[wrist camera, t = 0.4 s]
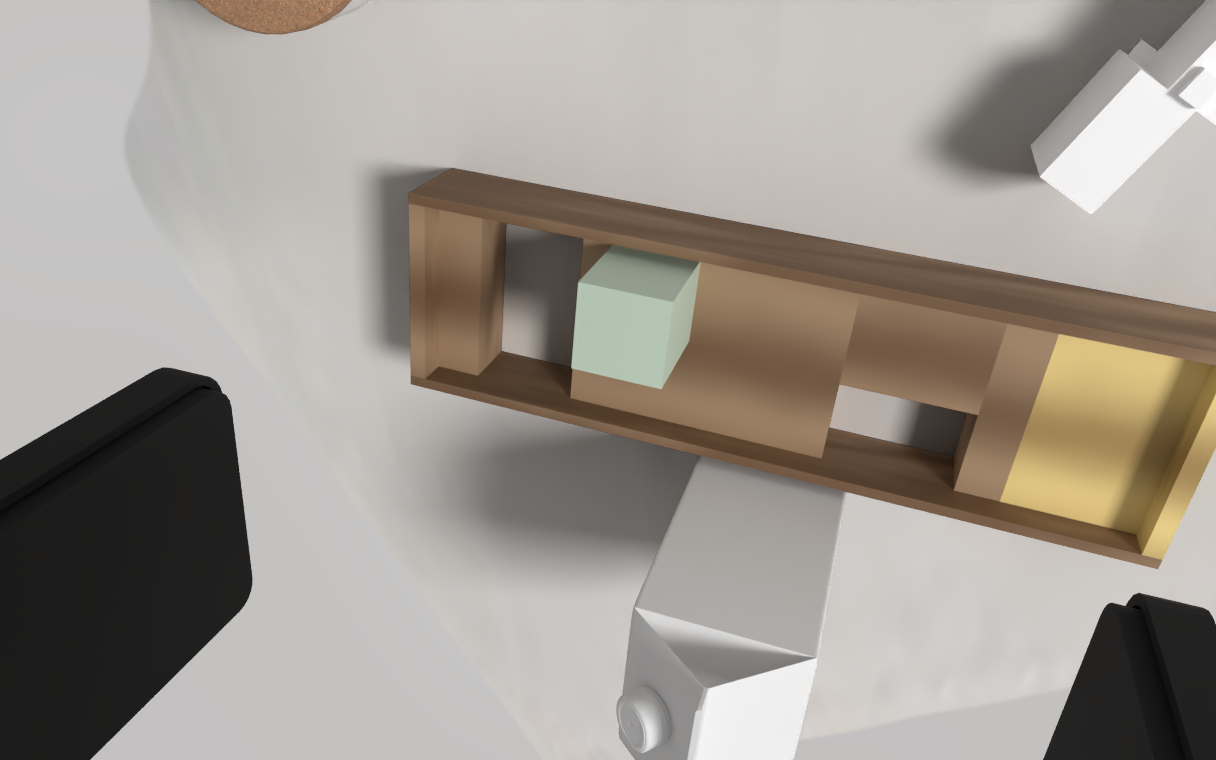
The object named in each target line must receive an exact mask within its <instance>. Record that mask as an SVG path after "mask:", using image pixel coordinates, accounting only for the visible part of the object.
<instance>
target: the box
mask: <svg viewBox="0 0 1216 760" xmlns="http://www.w3.org/2000/svg"><path fill="white" fill-rule="evenodd" d="M408 196H409V277H410V357H411V384H412V385H417V386H421V387H425V388H429V389H433V390H437V391H441V392H445V393H449V394H453V395H457V396H461V397H465V398H469V399H473V400H477V401H481V402H485V403H489V404H493V405H497V406H501V407H505V408H509V409H513V410H517V411H522V412H526V413H530V414H534V415H538V416H542V417H546V418H550V419H554V420H558V421H562V422H566V423H570V424H574V425H578V426H582V427H586V428H590V429H594V430H598V431H602V432H606V433H610V434H614V435H618V436H622V437H627V438H631V439H635V440H639V441H643V442H647V443H651V444H655V445H659V446H663V447H667V448H671V449H675V450H679V451H683V452H687V453H691V454H695V455H699V456H703V457H707V458H711V459H715V460H719V461H723V462H727V463H732V464H736V465H740V466H744V467H748V468H752V469H756V470H760V471H764V472H768V473H772V474H776V475H780V476H784V477H788V478H792V479H796V480H800V481H804V482H808V483H812V484H816V485H820V486H824V487H828V488H832V489H837V490H841V491H845V492H849V493H853V494H857V495H861V496H865V497H869V498H873V499H877V500H881V501H885V502H889V503H893V504H897V505H901V506H905V507H909V508H913V509H917V510H921V511H925V512H929V513H933V514H937V515H942V516H946V517H950V518H954V519H958V520H962V521H966V522H970V523H974V524H978V525H982V526H986V527H990V528H994V529H998V530H1002V531H1006V532H1010V533H1014V534H1018V535H1022V536H1026V537H1030V538H1034V539H1038V540H1042V541H1047V542H1051V543H1055V544H1059V545H1063V546H1067V547H1071V548H1075V549H1079V550H1083V551H1087V552H1091V553H1095V554H1099V555H1103V556H1107V557H1111V558H1115V559H1119V560H1123V561H1127V562H1131V563H1135V564H1139V565H1143V566H1148V567H1152V568H1156V569H1158V568H1159V566H1160V564H1161V562H1162V560H1163V557H1164V555H1165V553H1166V551H1167V549H1168V547H1169V545H1170V543H1171V541H1172V539H1173V536H1174V534H1175V532H1176V530H1177V528H1178V526H1179V524H1180V522H1181V520H1182V517H1183V515H1184V513H1185V511H1186V509H1187V507H1188V505H1189V503H1190V501H1191V498H1192V496H1193V494H1194V492H1195V490H1196V488H1197V486H1198V484H1199V482H1200V480H1201V477H1202V475H1203V473H1204V471H1205V469H1206V467H1207V465H1208V463H1209V461H1210V458H1211V456H1212V454H1213V452H1214V450H1215V448H1216V312H1211V311H1205V310H1200V309H1195V308H1190V307H1184V306H1179V305H1174V304H1168V303H1163V302H1158V301H1152V300H1147V299H1142V298H1137V297H1131V296H1126V295H1121V294H1115V293H1110V292H1105V291H1100V290H1094V289H1089V288H1084V287H1078V286H1073V285H1068V284H1063V283H1057V282H1052V281H1047V280H1041V279H1036V278H1031V277H1026V276H1020V275H1015V274H1010V273H1004V272H999V271H994V270H989V269H983V268H978V267H973V266H967V265H962V264H957V263H951V262H946V261H941V260H936V259H930V258H925V257H920V256H914V255H909V254H904V253H899V252H893V251H888V250H883V249H877V248H872V247H867V246H862V245H856V244H851V243H846V242H840V241H835V240H830V239H825V238H819V237H814V236H809V235H803V234H798V233H793V232H787V231H782V230H777V229H772V228H766V227H761V226H756V225H750V224H745V223H740V222H735V221H729V220H724V219H719V218H713V217H708V216H703V215H698V214H692V213H687V212H682V211H676V210H671V209H666V208H661V207H655V206H650V205H645V204H639V203H634V202H629V201H623V200H618V199H613V198H608V197H602V196H597V195H592V194H586V193H581V192H576V191H571V190H565V189H560V188H555V187H549V186H544V185H539V184H534V183H528V182H523V181H518V180H512V179H507V178H502V177H497V176H491V175H486V174H481V173H475V172H470V171H465V170H459V169H454V168H452V169H450V170H448V171H446V172H445V173H443V174H441V175H439V176H437V177H436V178H434V179H432V180H430V181H429V182H427V183H425V184H423V185H422V186H420V187H418V188H416V189H415V190H413V191H411V192H409V193H408ZM507 223H508V224H513V225H518V226H523V227H528V228H533V229H538V230H543V231H548V232H553V233H558V234H563V235H568V236H573V237H578V238H583V248H582V261H581V273H580V280H581V278H582V277H583V276H584V275H585V274H586V273H587V272H588V271H589V270H590V269H591V268H592V267H593V266H594V265H595V264H596V262H597V261H598V260H599V259H600V258H601V257H602V256H603V255H604V254H605V253H606V252H607V251H608V250H609V249H610V248H611V246H612V245H618V246H623V247H628V248H633V249H638V250H643V251H648V252H653V253H658V254H663V255H668V256H673V257H678V258H683V259H688V260H693V261H698V262H701V264H700V271H699V278H698V284H697V291H696V298H695V305H694V312H693V319H692V325H691V332H690V339H689V342H688V344H687V346H686V347H685V349H684V351H683V353H682V354H681V356H680V358H679V360H678V361H677V363H676V365H675V367H674V368H673V370H672V372H671V374H670V375H669V377H668V379H667V381H666V382H665V384H664V386H663V387H662V389H658V388H653V387H649V386H645V385H640V384H636V383H632V382H628V381H623V380H619V379H615V378H611V377H606V376H602V375H598V374H593V373H589V372H585V371H581V370H576V369H572V368H571V367H567V366H562V365H558V364H554V363H549V362H545V361H541V360H537V359H532V358H528V357H524V356H519V355H515V354H511V353H507V352H502V326H503V301H504V275H505V250H506V225H507ZM839 384H840V385H845V386H849V387H854V388H858V389H863V390H867V391H872V392H876V393H881V394H885V395H890V396H894V397H899V398H903V399H908V400H912V401H917V402H921V403H926V404H930V405H935V406H939V407H944V408H948V409H953V410H957V411H962V412H966V413H967V416H966V420H965V423H964V426H963V429H962V432H961V435H960V438H959V442H958V445H957V448H956V451H955V454H954V457H952V456H948V455H943V454H939V453H935V452H931V451H926V450H922V449H918V448H913V447H909V446H905V445H901V444H896V443H892V442H888V441H883V440H879V439H875V438H871V437H866V436H862V435H858V434H854V433H849V432H845V431H841V430H836V429H832V428H829V425H830V421H831V417H832V413H833V408H834V404H835V400H836V396H837V392H838V387H839Z"/></svg>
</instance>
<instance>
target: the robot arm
mask: <svg viewBox="0 0 1216 760" xmlns="http://www.w3.org/2000/svg"><path fill="white" fill-rule="evenodd" d="M251 587H252V570H251V563H250V555H249V546H248V538H247V531H246V522H245V514H244V506H243V498H242V489H241V481H240V473H239V465H238V457H237V449H236V441H235V432H234V424H233V416H232V408H231V404H230V400H229V399H228V397H227V396H226V395H225V394H223V393H222V391H221V388H220V386H219V385H218V383H217V382H216V381H215V380H213V379H212V378H210V377H207V376H203V375H199V374H194V373H190V372H186V371H182V370H177V369H173V368H161V369H157V370H155V371H153V372H151V373H149V374H148V375H146V376H144V377H143V378H141V379H139V380H137V381H136V382H134V383H132V384H130V385H129V386H127V387H125V388H124V389H122V390H120V391H118V392H117V393H115V394H113V395H111V396H110V397H108V398H106V399H105V400H103V401H101V402H99V403H98V404H96V405H94V406H93V407H91V408H89V409H87V410H86V411H84V412H82V413H80V414H79V415H77V416H75V417H74V418H72V419H70V420H68V421H67V422H65V423H63V424H61V425H60V426H58V427H56V428H55V429H53V430H51V431H49V432H48V433H46V434H44V435H42V436H41V437H39V438H38V439H35V440H34V441H32V442H31V443H29V444H27V445H25V446H23V447H22V448H20V449H18V450H16V451H15V452H13V453H12V454H10V455H8V456H6V457H4V458H3V459H1V460H0V760H90V759H91V758H92V757H93V756H94V755H95V754H96V753H97V752H98V751H99V750H100V749H101V748H102V747H103V746H104V745H105V744H106V743H107V742H108V741H110V739H112V738H113V737H114V736H115V734H117V732H119V731H120V730H121V728H123V727H124V726H125V725H126V724H127V723H128V722H129V721H130V720H131V719H132V718H133V717H134V716H135V715H136V714H137V713H138V712H139V711H140V710H141V709H142V708H143V707H144V706H145V705H146V704H147V703H148V702H149V701H150V700H151V699H152V698H153V697H154V696H155V695H156V694H157V693H158V692H159V691H160V690H161V689H162V688H163V687H164V686H165V685H166V684H167V683H168V682H169V681H170V680H171V679H172V678H173V677H174V676H175V675H176V674H177V673H178V672H179V671H180V670H181V669H182V668H183V667H184V666H185V665H186V664H187V663H188V662H189V661H190V660H191V659H192V658H193V657H194V656H195V655H196V654H197V653H198V652H199V651H200V650H201V649H202V648H203V647H204V646H205V645H206V644H207V643H208V642H209V641H210V640H211V639H212V638H213V637H214V636H215V635H216V634H217V633H218V632H219V631H220V630H221V629H222V628H223V627H224V626H225V625H226V624H227V623H228V622H229V621H230V620H231V619H232V618H233V617H234V616H235V615H236V614H237V613H238V612H239V611H240V610H241V609H242V608H243V606H244V605H245V603H246V602H247V600H248V597H249V595H250V592H251ZM1043 760H1216V624H1215V621H1214V619H1213V617H1212V615H1211V614H1210V612H1209V611H1208V610H1206V609H1204V608H1201V607H1197V606H1193V605H1188V604H1184V603H1180V602H1176V601H1171V600H1167V599H1163V598H1158V597H1154V596H1150V595H1145V594H1141V593H1138V594H1135V595H1133V596H1132V597H1131V599H1130V600H1129V601H1128V603H1127V605H1126V606H1123V605H1119V604H1114V603H1109V604H1107V606H1106V607H1105V608H1104V610H1103V612H1102V614H1101V616H1100V618H1099V621H1098V623H1097V626H1096V628H1095V631H1094V633H1093V636H1092V638H1091V641H1090V643H1089V646H1088V648H1087V651H1086V653H1085V656H1084V659H1083V661H1082V664H1081V666H1080V669H1079V671H1078V674H1077V676H1076V679H1075V681H1074V684H1073V686H1072V689H1071V691H1070V694H1069V696H1068V699H1067V701H1066V704H1065V706H1064V709H1063V711H1062V714H1061V716H1060V719H1059V721H1058V724H1057V726H1056V729H1055V731H1054V734H1053V736H1052V739H1051V742H1050V744H1049V747H1048V749H1047V752H1046V754H1045V756H1044V759H1043Z"/></svg>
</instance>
